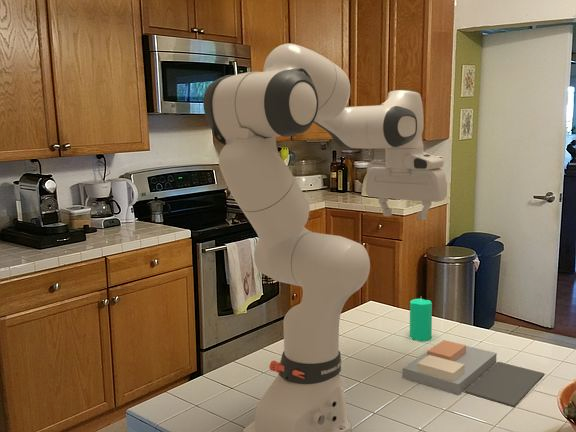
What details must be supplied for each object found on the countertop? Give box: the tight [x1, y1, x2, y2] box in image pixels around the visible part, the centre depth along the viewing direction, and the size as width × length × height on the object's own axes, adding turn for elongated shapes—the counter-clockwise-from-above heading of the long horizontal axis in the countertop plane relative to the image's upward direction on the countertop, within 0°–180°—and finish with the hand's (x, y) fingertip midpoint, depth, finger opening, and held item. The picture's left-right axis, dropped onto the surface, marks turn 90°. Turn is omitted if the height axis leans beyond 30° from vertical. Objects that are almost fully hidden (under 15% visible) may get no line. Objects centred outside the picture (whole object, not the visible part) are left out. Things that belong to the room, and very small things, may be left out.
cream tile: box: [417, 355, 465, 381], centre depth 132 cm, size 9×6×2 cm, turn 49°
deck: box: [401, 345, 498, 396], centre depth 139 cm, size 22×14×2 cm, turn 139°
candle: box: [409, 297, 433, 342], centre depth 160 cm, size 6×6×12 cm
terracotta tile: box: [426, 339, 467, 361], centre depth 141 cm, size 9×6×2 cm, turn 139°
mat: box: [463, 361, 545, 408], centre depth 131 cm, size 20×11×1 cm, turn 139°
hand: (404, 217), depth 137 cm, fingers open, 8 cm apart
